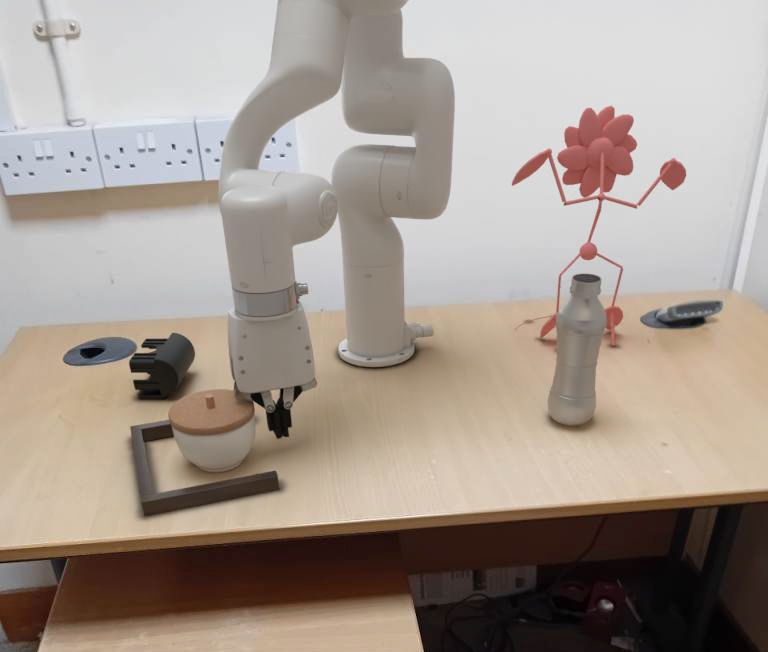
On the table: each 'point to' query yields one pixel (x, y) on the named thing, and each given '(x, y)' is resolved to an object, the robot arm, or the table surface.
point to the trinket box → (213, 429)
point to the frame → (195, 493)
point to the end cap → (162, 365)
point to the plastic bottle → (577, 352)
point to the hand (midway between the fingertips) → (280, 433)
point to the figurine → (598, 179)
